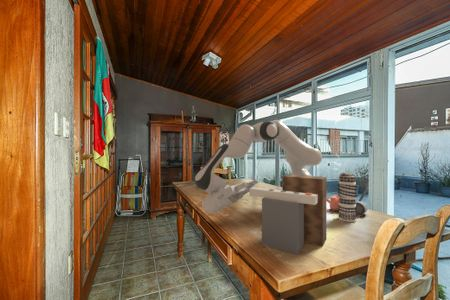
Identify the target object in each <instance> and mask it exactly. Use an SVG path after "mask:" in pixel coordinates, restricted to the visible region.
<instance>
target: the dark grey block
mask: <svg viewBox="0 0 450 300" xmlns="http://www.w3.org/2000/svg"><path fill="white" fill-rule="evenodd" d="M261 245H264V246H267V247H270V248H274V249H278V250H282V251H284V252H288V253H292V254H295V255H299V254H300V253H301V251H302V249H303V248H304V246H305V242H304V203H297V202H290V201H283V200H276V199H269V198H262V197H261Z"/></svg>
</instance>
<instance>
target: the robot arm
mask: <svg viewBox="0 0 450 300" xmlns="http://www.w3.org/2000/svg"><path fill="white" fill-rule="evenodd" d="M271 141H274V142H275V143H276V144H277V145H278V146H279V147H280V148H281V150H283V151H284V152H285V153H284V155H285V156H284V158H285V161H286V162H287V163H288V165H289V167H290V169H291V173H292V174H291V175H303V176H313V175H312V174H311V173H310V171H308V168H307V167H312V166H313V167H314V166H318V165H320V163H322V159H323V153H322V152H321V150H320V149H318V148H315V147H313V146H311V145H309V144H308V143H307V142H305V141H303V140H302V139H300V137H298V136H297V135H296V134H295V133H294V132H293V131H292V130H291V129H290V127H288V125H286V124H285V123H283V122H282V121H281V120H279V119H274V120H271V121H270V120H266V121H261V122H257V123H256V124H252V125H250V124H241V125H240V126H239V127H238V128H237V130H236V131H235V132H234V133H233V136H232V137H231V139H230V140H229V142H227V143H224V144H221V146H219V148H218V149H217V150H216V151H215V152H214V153H213V154H212V156H211V157H210V159H209V160H208V161H207V162H206V163H205V164H204V166H203V167H202V168H201V169H200V170H199V171H198V172H197V173H196V174H195V176H194V183H195V187H196V188H198V189H199V190H202V191H205V192H207V193H208V195H207V196H206V197H205V198H204V199H203V200H202V202H201V206H202V207H201V208H202V209H203V211H204V212H206V213H208V214H215V213H218V212H220V211H222V210H223V209H224V208H226V207H229V206H232V205H233V204H235V203H237V202H238V201H239V200H240V199H242V198H243V197H244V196H245V195H247V194H248V193H249V189H250V188H253V187H256V186H255V185H257V184H258V183H259V181H258V179H253V180H249V181H244V182H241V183H238V184H234V185H232V184H229V183H228V181H227V180H226V179H224V178H223V177H221V176H219V175H217V174H216V173H214V171H215V170H216V168H217V167H218V166H219V165H220V163H221V162H222V161H223V159H225V158H231V159H236V160H238V159H242V158H244V157H245V156H246V155H247V154H248V152H249V150H250V148H251V146H252V145H253V143H265V142H271Z"/></svg>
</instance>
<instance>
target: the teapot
mask: <svg viewBox="0 0 450 300" xmlns="http://www.w3.org/2000/svg"><path fill="white" fill-rule="evenodd" d="M326 203H328V204H329V208H330V210H331V211H332V212H336V211H340V210H339V209H338V208H339V207H338V206H339V197H338V194H336V195H332V196H331V198H330V199H329V198H328V197H327V196H326Z"/></svg>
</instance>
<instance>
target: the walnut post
mask: <svg viewBox="0 0 450 300" xmlns="http://www.w3.org/2000/svg"><path fill="white" fill-rule="evenodd" d="M281 178H282V179H281V181H282V182H281V184H282V185H281V187H282V189H281V190H283V191H291V192H300V193H313V194H317V195H318V203H317V204H316V205H311V204H304V243H308V244H311V245H312V244H313V245H315V246H316V245H317V246H320V247H323V246H324V245H325V243H326V241H327V201H326V197H327V176H315V175H312V176H303V175H293V174H286V175H282V177H281Z"/></svg>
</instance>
